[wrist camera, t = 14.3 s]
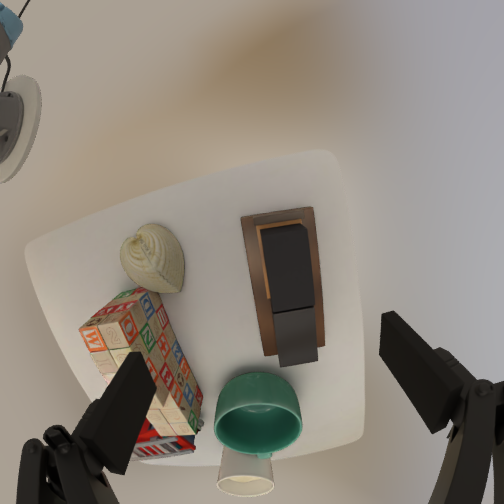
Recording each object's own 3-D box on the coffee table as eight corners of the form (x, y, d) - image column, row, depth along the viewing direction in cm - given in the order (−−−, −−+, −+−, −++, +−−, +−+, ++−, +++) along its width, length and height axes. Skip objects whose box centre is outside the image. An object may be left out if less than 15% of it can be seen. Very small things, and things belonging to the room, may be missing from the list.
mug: (215, 362, 40) (207, 403, 30) (297, 359, 40) (307, 400, 30) (225, 427, 43) (221, 465, 34) (291, 425, 43) (297, 463, 34)
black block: (259, 229, 33) (260, 235, 29) (300, 222, 33) (307, 228, 29) (270, 297, 35) (273, 312, 31) (308, 290, 35) (315, 305, 31)
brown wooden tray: (240, 216, 35) (238, 223, 29) (310, 206, 34) (322, 210, 28) (264, 351, 39) (265, 375, 33) (322, 340, 39) (332, 363, 33)
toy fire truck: (209, 418, 43) (203, 459, 33) (143, 438, 45) (131, 471, 35) (178, 387, 41) (163, 429, 31) (114, 412, 43) (96, 445, 34)
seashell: (153, 204, 32) (187, 248, 29) (172, 236, 39) (202, 275, 37) (102, 243, 30) (128, 293, 27) (129, 268, 37) (155, 311, 35)
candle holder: (281, 438, 44) (286, 485, 33) (247, 456, 46) (247, 500, 34) (244, 418, 43) (243, 470, 31) (211, 438, 44) (205, 485, 33)
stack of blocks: (204, 396, 41) (193, 450, 29) (172, 399, 42) (154, 450, 30) (154, 282, 37) (117, 322, 25) (119, 291, 37) (76, 329, 25)
